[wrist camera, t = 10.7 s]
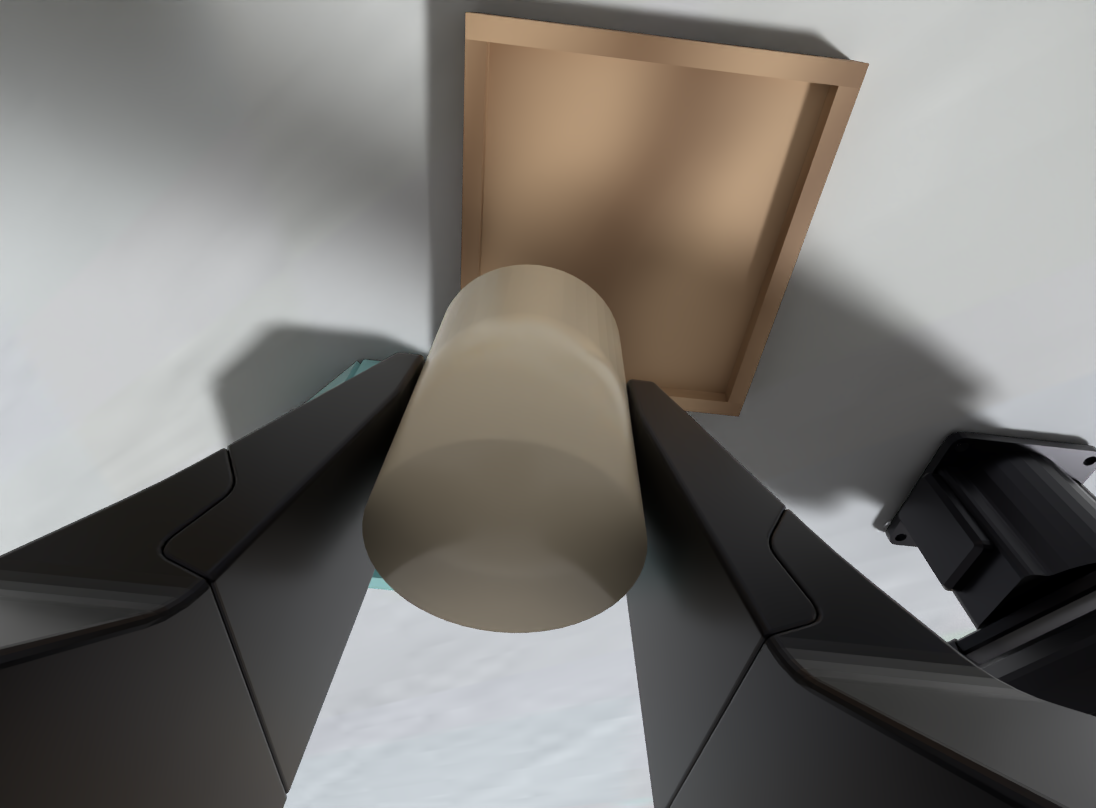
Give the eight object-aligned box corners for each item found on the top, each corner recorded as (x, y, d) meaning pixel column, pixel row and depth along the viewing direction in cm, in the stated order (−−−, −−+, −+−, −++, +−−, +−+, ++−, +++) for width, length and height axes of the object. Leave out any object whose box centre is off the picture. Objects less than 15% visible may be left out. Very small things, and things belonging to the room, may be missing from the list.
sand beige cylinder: (636, 277, 9) (678, 458, 6) (604, 431, 11) (617, 643, 7) (439, 253, 9) (349, 421, 5) (439, 413, 11) (371, 619, 7)
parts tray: (851, 59, 17) (869, 63, 16) (732, 399, 23) (738, 416, 22) (471, 12, 16) (465, 12, 15) (463, 370, 23) (459, 386, 22)
